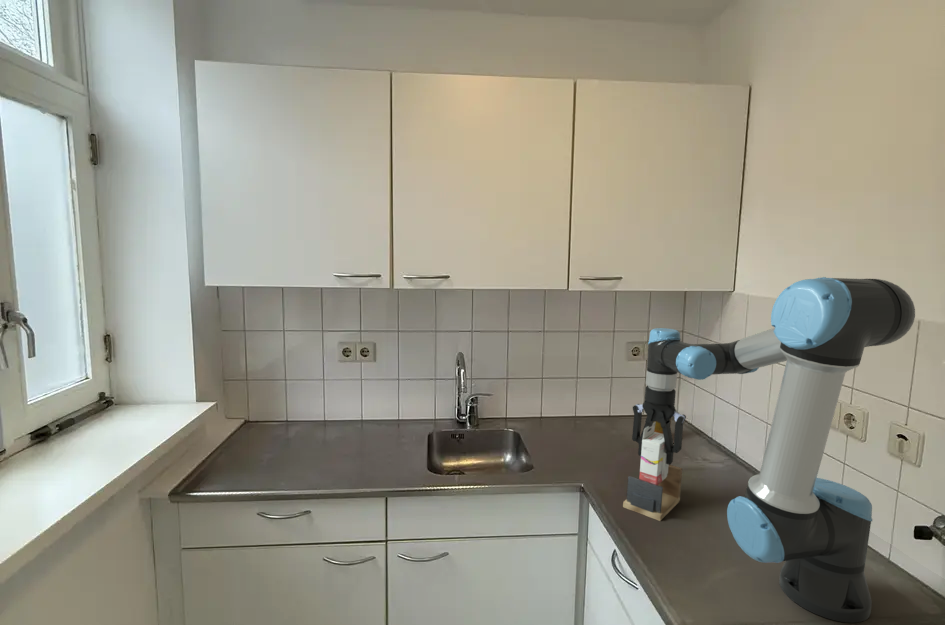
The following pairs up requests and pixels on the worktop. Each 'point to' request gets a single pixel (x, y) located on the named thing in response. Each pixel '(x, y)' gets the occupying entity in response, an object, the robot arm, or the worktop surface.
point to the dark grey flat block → (644, 494)
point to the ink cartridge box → (652, 456)
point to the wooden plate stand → (664, 494)
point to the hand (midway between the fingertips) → (654, 471)
